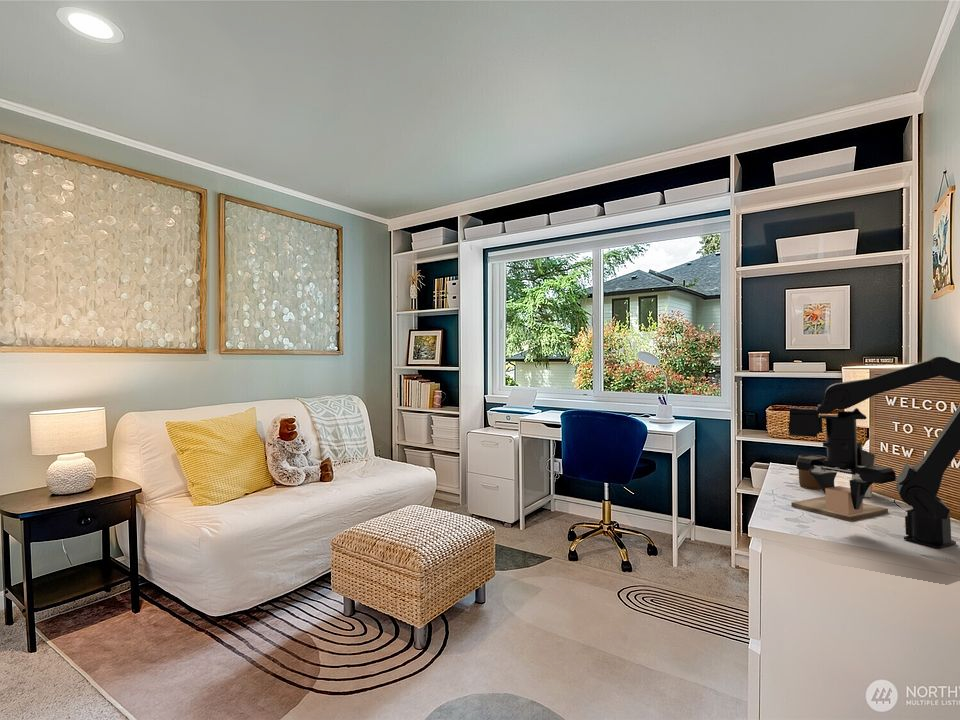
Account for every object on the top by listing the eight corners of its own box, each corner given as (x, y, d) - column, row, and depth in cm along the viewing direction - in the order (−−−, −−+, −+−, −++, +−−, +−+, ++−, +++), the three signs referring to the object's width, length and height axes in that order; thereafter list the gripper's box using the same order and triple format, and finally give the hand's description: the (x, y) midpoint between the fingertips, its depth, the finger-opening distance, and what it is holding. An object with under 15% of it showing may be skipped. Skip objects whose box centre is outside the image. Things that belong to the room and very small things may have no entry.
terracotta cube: (863, 512, 115) (862, 490, 115) (848, 515, 113) (847, 492, 113) (840, 507, 120) (839, 485, 120) (826, 509, 118) (825, 488, 118)
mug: (836, 494, 148) (835, 461, 149) (806, 492, 151) (805, 461, 151) (824, 484, 160) (823, 454, 160) (796, 483, 162) (795, 454, 162)
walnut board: (888, 512, 129) (887, 508, 129) (849, 521, 124) (849, 516, 124) (828, 499, 143) (828, 495, 143) (791, 506, 138) (791, 502, 138)
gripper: (909, 440, 111) (913, 511, 111) (824, 431, 128) (826, 493, 128) (877, 444, 107) (880, 519, 107) (793, 434, 124) (796, 498, 124)
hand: (844, 506), depth 117 cm, fingers closed on terracotta cube, 5 cm apart
